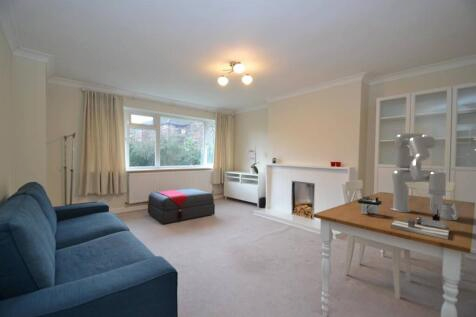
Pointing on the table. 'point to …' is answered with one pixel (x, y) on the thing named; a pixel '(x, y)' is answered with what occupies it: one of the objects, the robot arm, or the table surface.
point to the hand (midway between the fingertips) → (436, 222)
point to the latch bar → (431, 222)
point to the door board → (420, 228)
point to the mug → (449, 212)
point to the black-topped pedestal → (369, 205)
